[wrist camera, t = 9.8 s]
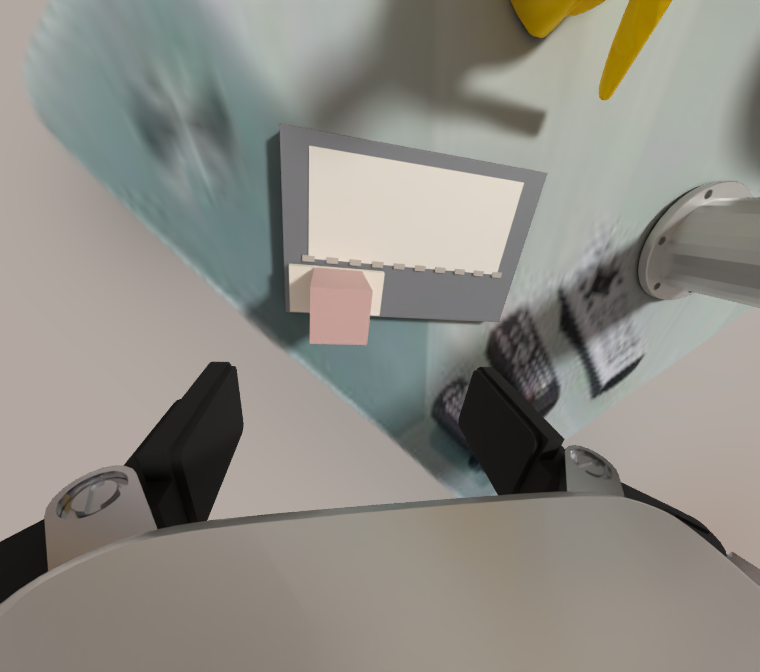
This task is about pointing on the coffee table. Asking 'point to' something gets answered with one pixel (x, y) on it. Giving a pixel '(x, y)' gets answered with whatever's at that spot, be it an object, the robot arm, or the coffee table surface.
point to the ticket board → (406, 221)
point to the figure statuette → (645, 9)
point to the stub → (336, 301)
